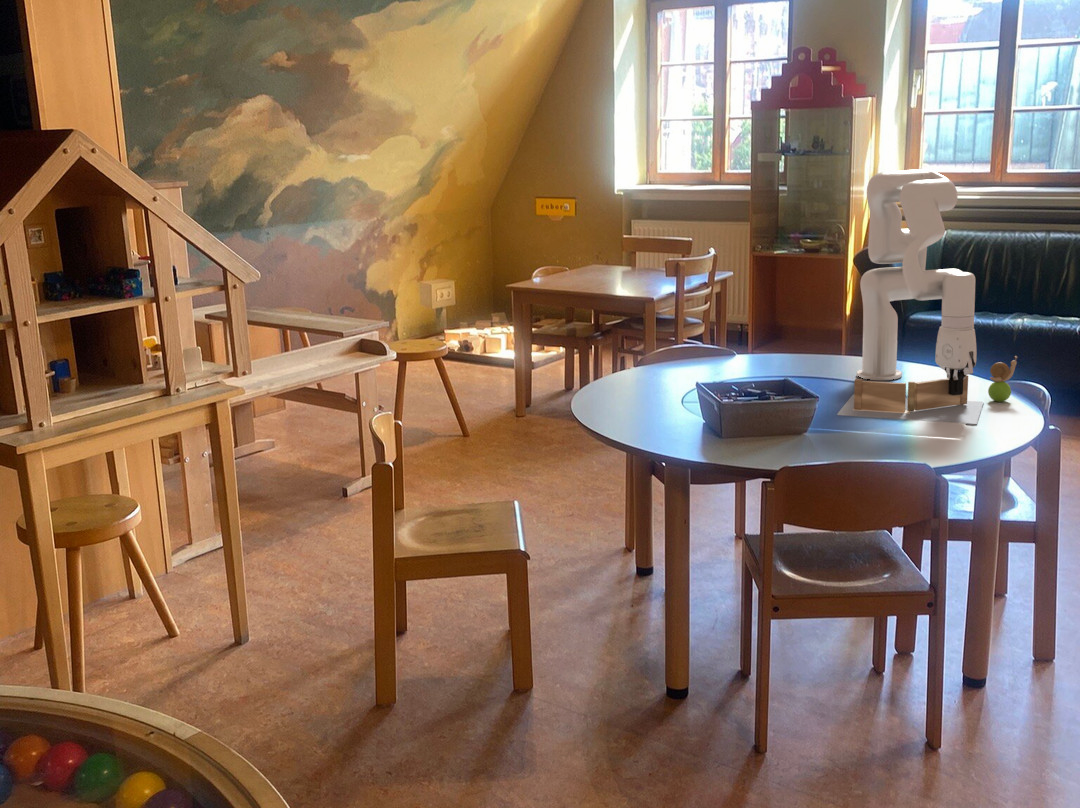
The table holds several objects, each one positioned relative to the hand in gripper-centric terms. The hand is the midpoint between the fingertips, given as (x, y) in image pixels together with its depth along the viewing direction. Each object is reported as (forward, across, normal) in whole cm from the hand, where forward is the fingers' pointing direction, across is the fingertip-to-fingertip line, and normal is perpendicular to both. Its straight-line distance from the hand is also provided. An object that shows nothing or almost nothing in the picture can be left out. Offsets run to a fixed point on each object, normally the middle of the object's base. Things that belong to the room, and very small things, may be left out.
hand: (955, 394), depth 259 cm
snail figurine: (+4, -2, +16) cm, 17 cm away
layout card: (+4, -7, -8) cm, 11 cm away
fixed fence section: (+4, -9, -16) cm, 19 cm away
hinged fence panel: (+4, -3, -3) cm, 6 cm away
